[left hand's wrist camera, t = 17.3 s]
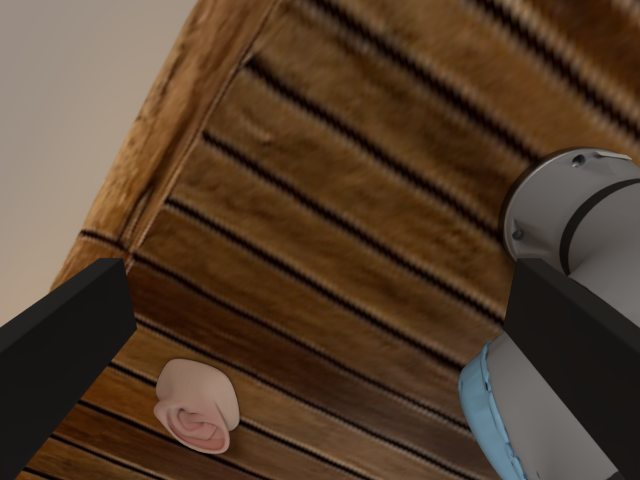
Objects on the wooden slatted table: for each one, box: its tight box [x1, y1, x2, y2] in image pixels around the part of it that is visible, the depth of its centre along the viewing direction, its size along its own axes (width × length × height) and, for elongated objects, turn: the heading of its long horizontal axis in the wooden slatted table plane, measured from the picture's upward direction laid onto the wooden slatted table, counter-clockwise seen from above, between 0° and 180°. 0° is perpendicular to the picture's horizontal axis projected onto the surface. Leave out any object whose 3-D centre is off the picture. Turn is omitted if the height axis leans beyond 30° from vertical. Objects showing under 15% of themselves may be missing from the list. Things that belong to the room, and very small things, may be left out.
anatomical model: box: [154, 359, 239, 454], centre depth 50 cm, size 13×4×12 cm
